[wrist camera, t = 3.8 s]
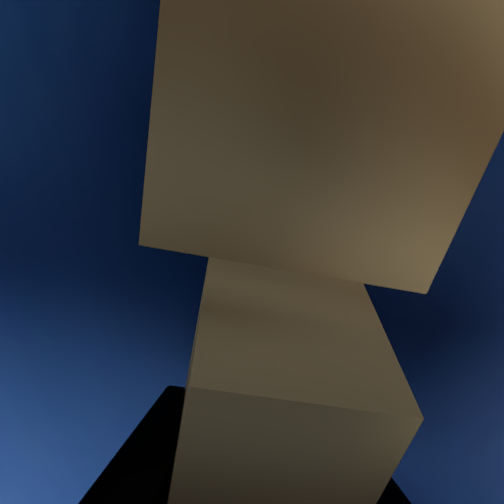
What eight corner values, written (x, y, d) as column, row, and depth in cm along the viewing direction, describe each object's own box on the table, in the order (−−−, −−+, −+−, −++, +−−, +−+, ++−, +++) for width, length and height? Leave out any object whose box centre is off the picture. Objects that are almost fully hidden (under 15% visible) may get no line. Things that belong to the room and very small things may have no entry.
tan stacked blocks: (321, 477, 12) (352, 659, 9) (125, 454, 12) (73, 639, 8) (602, -157, 6) (1131, -420, 2) (196, -280, 5) (101, -878, 2)
